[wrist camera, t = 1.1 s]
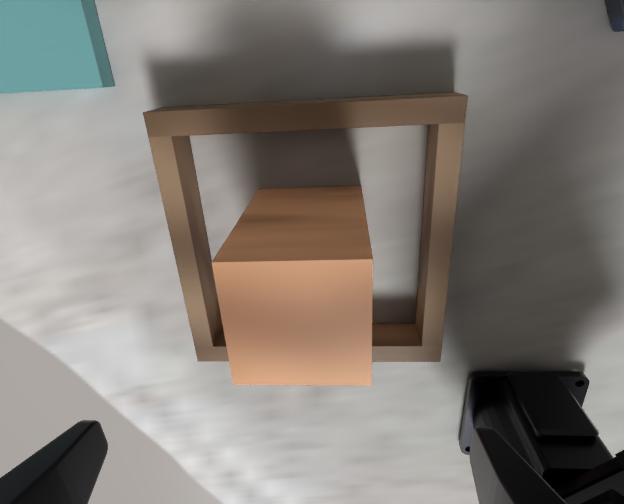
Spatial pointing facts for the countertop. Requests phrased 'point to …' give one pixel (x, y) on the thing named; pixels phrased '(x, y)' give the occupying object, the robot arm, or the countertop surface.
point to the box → (616, 14)
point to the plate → (51, 46)
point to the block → (298, 289)
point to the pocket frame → (313, 116)
